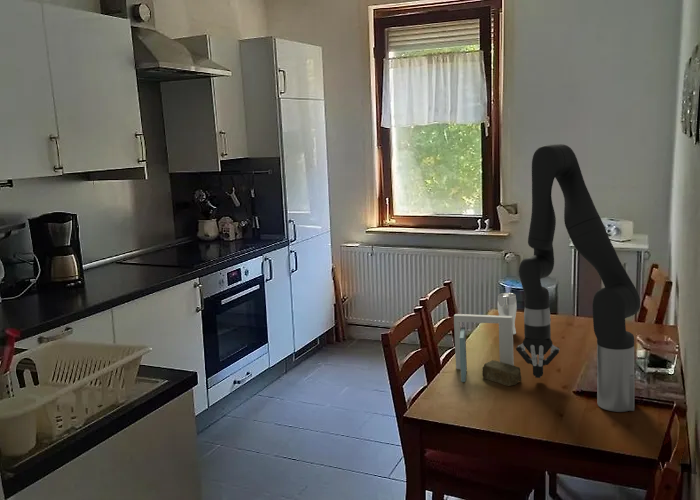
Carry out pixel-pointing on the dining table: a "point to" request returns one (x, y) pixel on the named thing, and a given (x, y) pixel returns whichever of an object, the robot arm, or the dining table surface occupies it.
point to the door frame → (504, 334)
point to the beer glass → (507, 306)
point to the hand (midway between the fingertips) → (538, 376)
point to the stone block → (501, 373)
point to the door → (463, 354)
